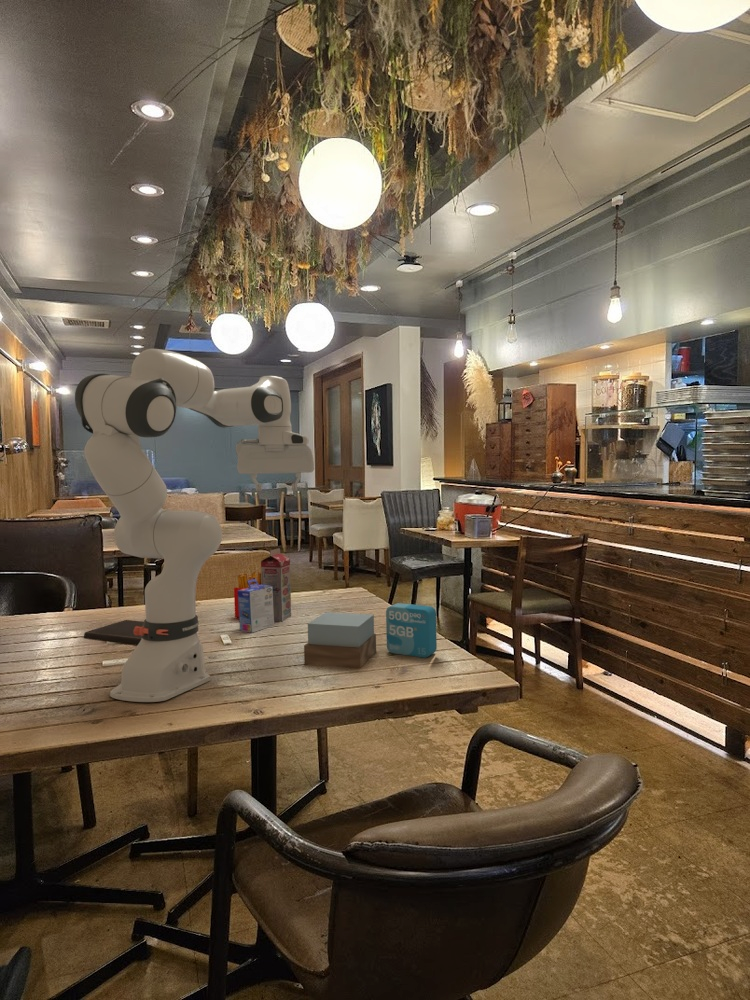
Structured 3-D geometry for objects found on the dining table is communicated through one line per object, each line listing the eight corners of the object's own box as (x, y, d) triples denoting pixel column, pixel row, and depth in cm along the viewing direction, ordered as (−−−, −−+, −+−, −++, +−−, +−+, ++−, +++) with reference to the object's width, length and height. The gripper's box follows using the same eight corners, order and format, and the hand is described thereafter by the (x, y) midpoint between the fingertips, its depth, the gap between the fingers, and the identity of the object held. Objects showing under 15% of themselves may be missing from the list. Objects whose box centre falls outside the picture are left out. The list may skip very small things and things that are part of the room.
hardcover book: (126, 627, 198) (126, 619, 198) (186, 633, 189) (186, 626, 189) (83, 640, 184) (83, 632, 184) (147, 648, 175) (146, 639, 174)
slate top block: (359, 647, 153) (358, 626, 153) (308, 644, 157) (307, 623, 157) (374, 634, 165) (373, 614, 165) (326, 631, 169) (325, 612, 168)
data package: (386, 652, 165) (385, 605, 164) (394, 648, 169) (393, 602, 168) (429, 658, 159) (428, 610, 158) (437, 653, 163) (436, 606, 162)
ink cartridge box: (261, 623, 197) (260, 576, 196) (275, 626, 194) (273, 578, 193) (237, 631, 189) (236, 581, 188) (251, 633, 186) (250, 583, 185)
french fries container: (233, 619, 203) (232, 575, 202) (254, 613, 211) (253, 571, 210) (249, 622, 199) (248, 577, 198) (270, 616, 207) (269, 572, 206)
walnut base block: (360, 669, 152) (359, 648, 152) (304, 666, 156) (304, 645, 156) (376, 652, 166) (375, 633, 166) (324, 649, 170) (324, 630, 169)
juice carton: (262, 621, 200) (260, 550, 199) (272, 616, 207) (270, 547, 205) (282, 622, 198) (280, 551, 197) (291, 617, 205) (289, 548, 203)
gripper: (234, 438, 168) (235, 492, 169) (313, 437, 170) (314, 490, 171) (236, 439, 174) (238, 491, 175) (313, 438, 176) (314, 489, 177)
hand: (276, 490), depth 173 cm, fingers open, 8 cm apart
